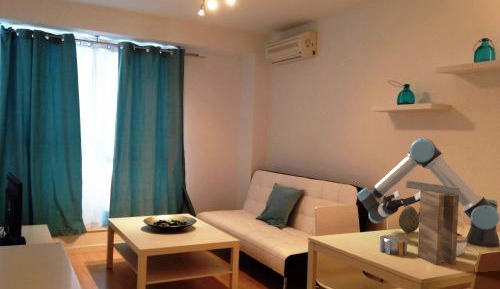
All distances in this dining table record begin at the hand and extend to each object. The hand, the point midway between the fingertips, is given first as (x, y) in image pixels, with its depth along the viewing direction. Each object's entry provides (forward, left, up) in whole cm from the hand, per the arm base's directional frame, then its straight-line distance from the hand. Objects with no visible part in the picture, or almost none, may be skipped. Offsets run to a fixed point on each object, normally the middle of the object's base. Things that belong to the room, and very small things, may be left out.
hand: (411, 192), depth 203 cm
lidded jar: (-18, +9, -27) cm, 33 cm away
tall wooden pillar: (-4, +19, -27) cm, 33 cm away
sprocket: (+10, +6, -27) cm, 29 cm away
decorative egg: (-16, -33, -27) cm, 46 cm away
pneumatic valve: (-35, -48, -27) cm, 65 cm away
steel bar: (-2, +15, +3) cm, 16 cm away
